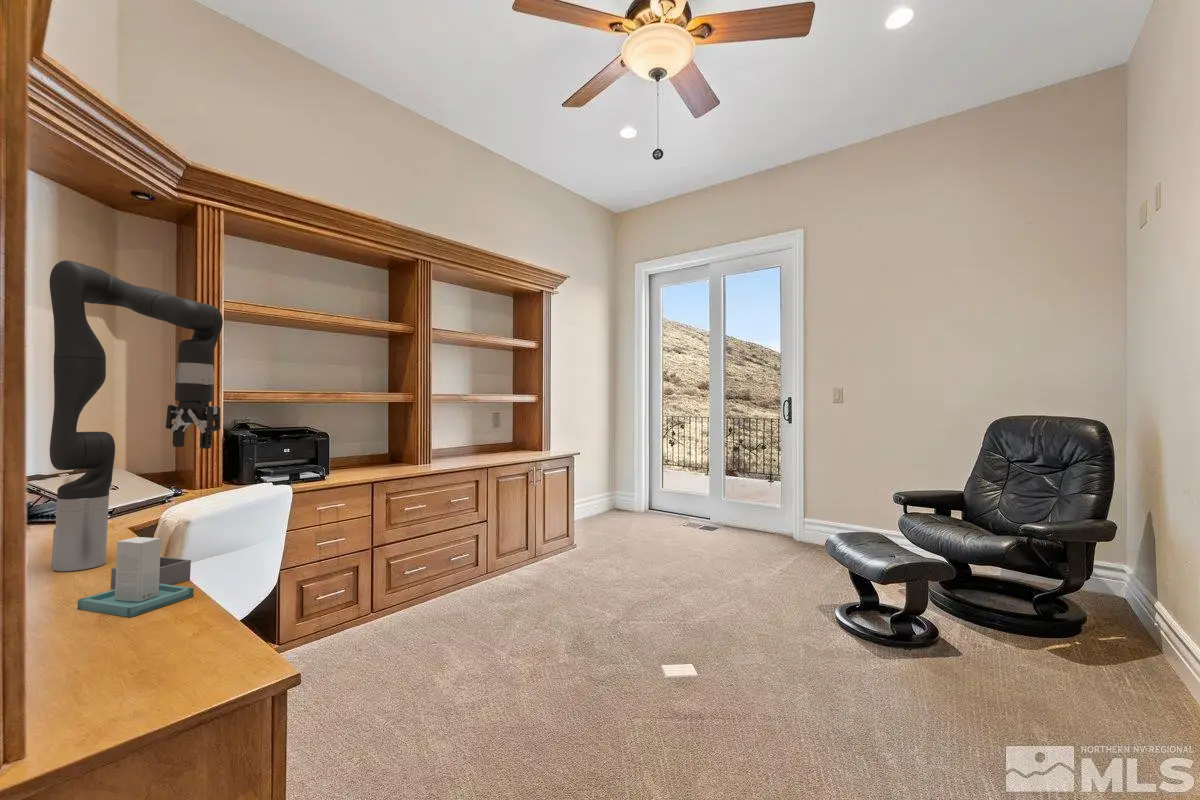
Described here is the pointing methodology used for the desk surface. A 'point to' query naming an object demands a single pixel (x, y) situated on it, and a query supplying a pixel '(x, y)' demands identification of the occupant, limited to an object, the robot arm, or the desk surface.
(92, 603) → the tray
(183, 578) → the holder
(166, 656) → the desk surface
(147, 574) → the skincare box
